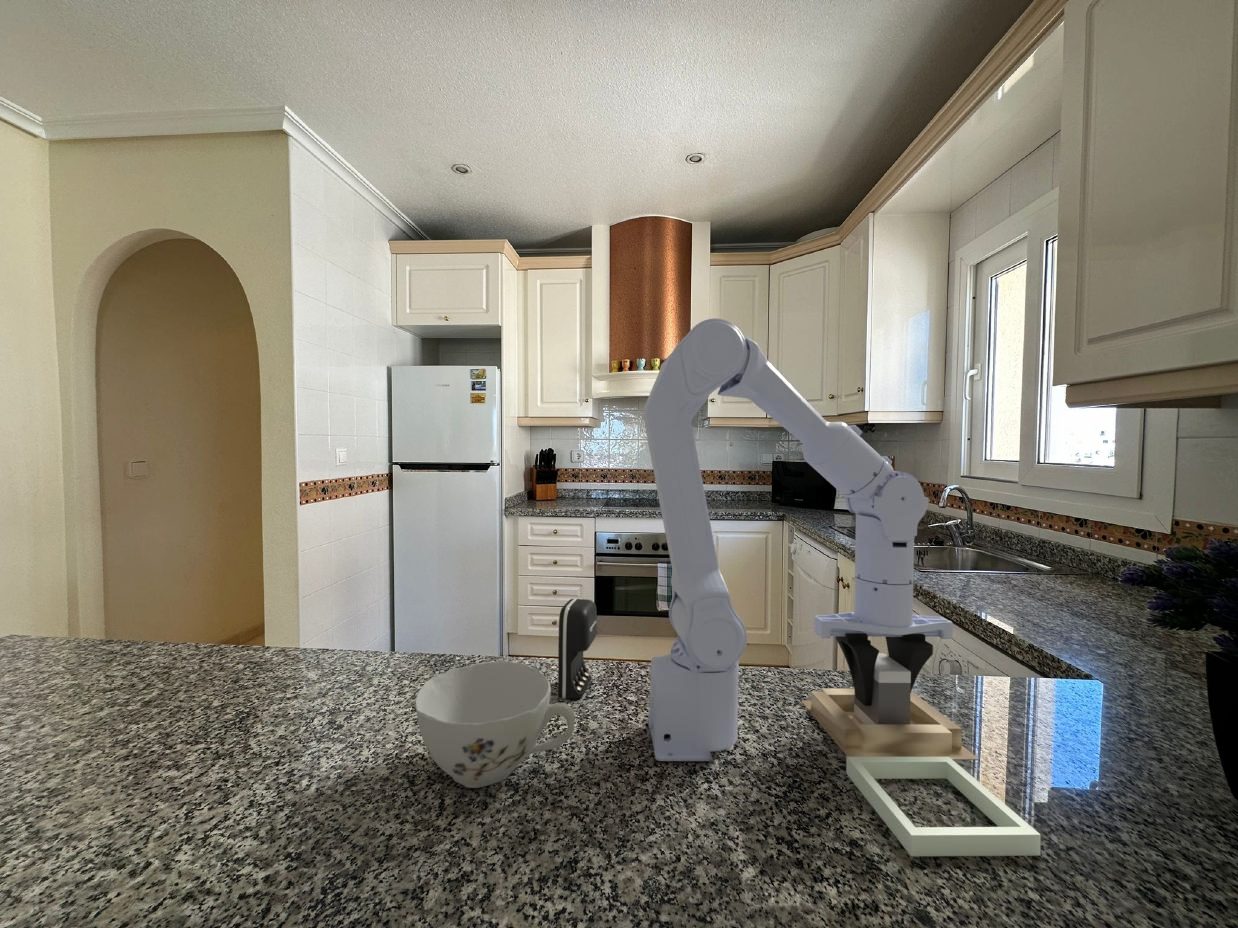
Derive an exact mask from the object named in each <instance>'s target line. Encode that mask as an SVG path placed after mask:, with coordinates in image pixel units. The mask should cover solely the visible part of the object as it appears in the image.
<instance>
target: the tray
mask: <svg viewBox="0 0 1238 928" xmlns="http://www.w3.org/2000/svg"><path fill="white" fill-rule="evenodd" d="M845 773H846V775H847V776H848V777H849V779H850V780H851V782H853V783H854V785H855V786H856V788H857V789H858V790H859V792H860V793H862V796H864V798H865V799H866V801H867V802H868V803H869V804H870V806H871V807H872V808H873V809H874V811H875V812H876V813H877V814H878V816H879V817H880V818H881V820H882V821H883V822H884V823H885V825H886V826H887V827H888V829H889V830H890V831H891V833H893V835H894V836H895V837H896V839H897V840H898V841H899V842H900V844H901V845H902V846H903V848H904V849H905V850H906V852H907V853H908V855H910V856H911V857H986V856H987V857H996V856H999V857H1002V856H1004V857H1007V856H1009V857H1013V856H1020V857H1021V856H1022V857H1023V856H1025V857H1026V856H1027V857H1028V856H1041V844H1042V843H1041V839H1042V838H1041V837H1042V836H1041V835H1042V834H1041V833H1039V832H1038V831H1037V830H1036V829H1035V828H1033V827H1032V825H1030V824H1029V823H1028V822H1027V821H1026V820H1024V819H1023V818H1022V817H1020V815H1018V814H1017V813H1016V812H1015V811H1014V810H1012V809H1011V808H1010V807H1009V806H1008V805H1006V804H1005V803H1004V802H1003V801H1002V800H1001V799H1000V798H998V797H997V796H996V795H995V794H994V793H992V792H991V791H990V789H988V788H987V787H986V786H984V785H983V784H982V783H980V782H979V780H977V779H976V778H975V777H974V776H972V775H971V774H970V773H968V771H966V770H965V769H964V768H963V767H962V766H961V765H959V763H957V762H956V760H952V759H951V758H950V757H847V756H846V770H845ZM877 779H879V780H880V779H885V780H886V779H889V780H890V779H895V780H896V779H897V780H898V779H902V780H903V779H908V780H909V779H915V780H916V779H917V780H918V779H927V780H928V779H930V780H931V779H933V780H934V779H946V780H947V781H948V782H949V783H951V784H952V786H954V787H955V789H957V790H958V791H959V792H960V793H961V794H963V795H964V796H965V797H966V799H968V800H969V801H970V802H971V803H972V804H973V805H974V806H975V807H977V809H979V810H980V811H981V812H982V813H983V814H985V816H987V818H988V819H989V820H991V821H992V822H993V823H994V824H995V825H996V826H954V827H953V826H939V827H938V826H933V827H932V826H931V827H930V826H929V827H928V826H924V827H921V826H917V827H916V826H915V825H914V824H913V822H911V820H910V819H909V817H907V816H906V814H905V813H904V811H902V810H901V808H899V807H898V805H897V804H896V803H895V802H894V800H893V799H892V798H891V797H890V796H889V794H888V793H886V791H885V790H884V789H883V788H882V787H881V785H880V784H879V783H878V782H877Z"/></svg>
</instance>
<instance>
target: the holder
mask: <svg viewBox="0 0 1238 928" xmlns="http://www.w3.org/2000/svg"><path fill="white" fill-rule="evenodd" d="M801 703H802V704H803V706H805V708H806V709H807V710H808V711H809V713H810V714H811V715H812V716H813V718H815V719H816V721H817V722H818V723H819V725H820V726H821V727H822V728H823V729H824V730H825V731H826V733H827V734H828V735H829V736H830V738H831V739H832V740H833V741H834V742H835V744H836V745H837V747H838V748H840V750H841V751H842V752H843V753H844V755H845V756H846V758H847V757H950V758H951V759H952V760H953V761H957V760H959V761H961V760H963V761H965V760H966V761H968V760H971V761H972V760H973V761H974V760H976V761H977V760H980V758H979V757H978V756H976V755H975V754H974V753H973V752H971V751H969V749H967V748H966V747H964V746H963V745H962V743H963V741H962V740H963V739H962V738H963V737H962V736H963V735H962V733H963V728H962V727H960V726H959V725H958V724H957V723H955V722H954V721H952V719H950V718H948V717H947V716H946V715H944V714H943V713H942V712H940V711H939V710H938V709H936V708H935V707H933V706H932V705H931V704H929V703H928V702H926V701H925V699H922V698H921V697H920V696H918V695H917V693H915V692H913V691H911V694H910V724H864V723H863V722H862V721H861V720H860V719H859V718H858V717H857V716H856V715H855V714H854V688H835V687H834V688H833V687H832V688H823V687H822V688H821V691H816V690H815V691H811V692H810V700H801Z"/></svg>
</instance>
